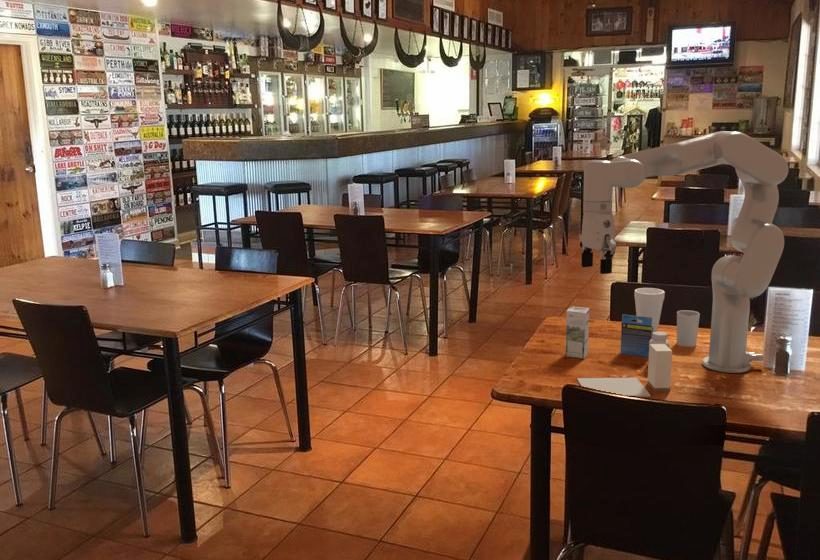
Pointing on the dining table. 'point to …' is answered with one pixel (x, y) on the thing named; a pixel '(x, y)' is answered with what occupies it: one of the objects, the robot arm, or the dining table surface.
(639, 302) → the foam cup
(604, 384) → the felt mat
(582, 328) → the syrup box
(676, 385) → the dining table surface
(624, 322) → the label tape box
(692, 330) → the drinking glass
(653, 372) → the tall block
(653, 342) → the pill bottle
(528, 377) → the dining table surface
